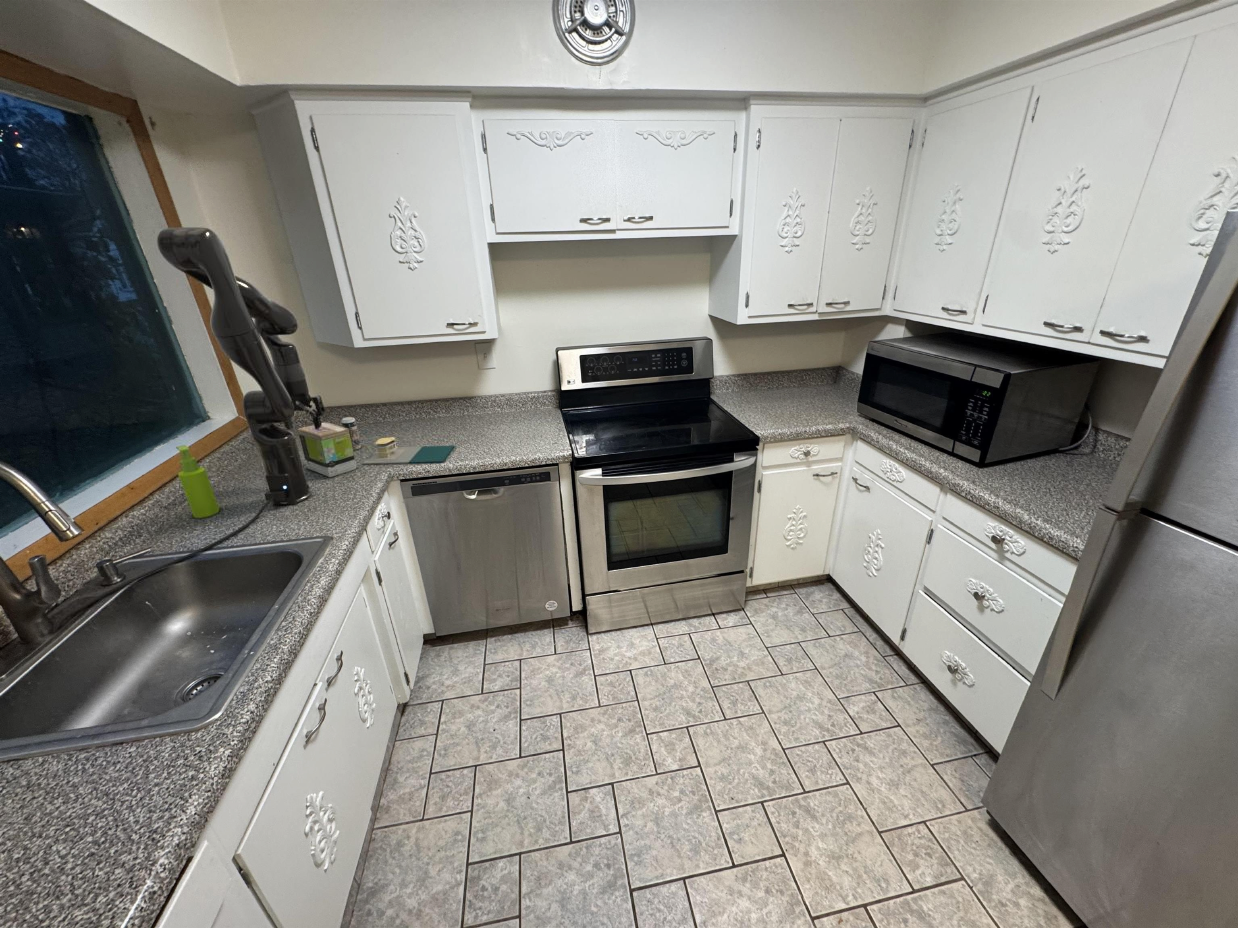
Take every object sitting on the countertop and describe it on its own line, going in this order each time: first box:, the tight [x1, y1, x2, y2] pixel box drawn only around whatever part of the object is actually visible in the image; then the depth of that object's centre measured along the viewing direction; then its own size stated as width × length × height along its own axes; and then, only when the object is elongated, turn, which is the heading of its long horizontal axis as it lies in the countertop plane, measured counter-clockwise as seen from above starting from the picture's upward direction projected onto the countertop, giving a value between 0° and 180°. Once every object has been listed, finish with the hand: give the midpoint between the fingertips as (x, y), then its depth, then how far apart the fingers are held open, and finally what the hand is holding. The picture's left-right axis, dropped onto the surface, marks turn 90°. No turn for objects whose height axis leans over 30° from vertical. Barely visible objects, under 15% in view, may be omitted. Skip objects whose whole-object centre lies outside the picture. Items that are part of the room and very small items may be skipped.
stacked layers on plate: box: [370, 436, 404, 460], centre depth 183 cm, size 10×9×6 cm
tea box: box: [297, 421, 357, 478], centre depth 171 cm, size 15×10×15 cm, turn 56°
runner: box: [361, 445, 455, 466], centre depth 185 cm, size 16×28×1 cm, turn 93°
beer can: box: [341, 416, 362, 451], centre depth 190 cm, size 5×5×12 cm
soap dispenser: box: [175, 444, 220, 519], centre depth 141 cm, size 6×7×20 cm
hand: (304, 428), depth 159 cm, fingers open, 8 cm apart
